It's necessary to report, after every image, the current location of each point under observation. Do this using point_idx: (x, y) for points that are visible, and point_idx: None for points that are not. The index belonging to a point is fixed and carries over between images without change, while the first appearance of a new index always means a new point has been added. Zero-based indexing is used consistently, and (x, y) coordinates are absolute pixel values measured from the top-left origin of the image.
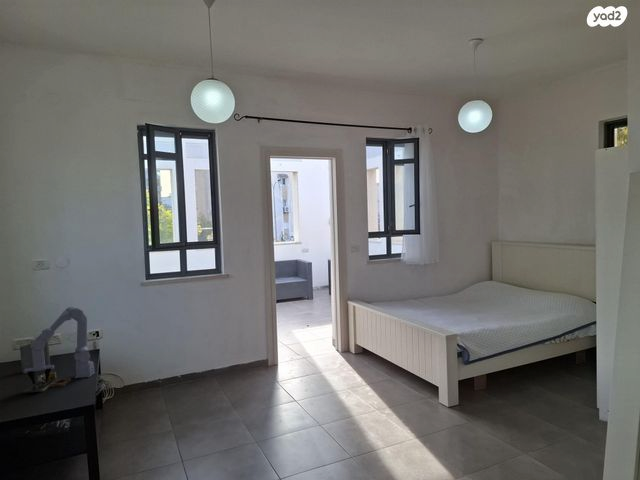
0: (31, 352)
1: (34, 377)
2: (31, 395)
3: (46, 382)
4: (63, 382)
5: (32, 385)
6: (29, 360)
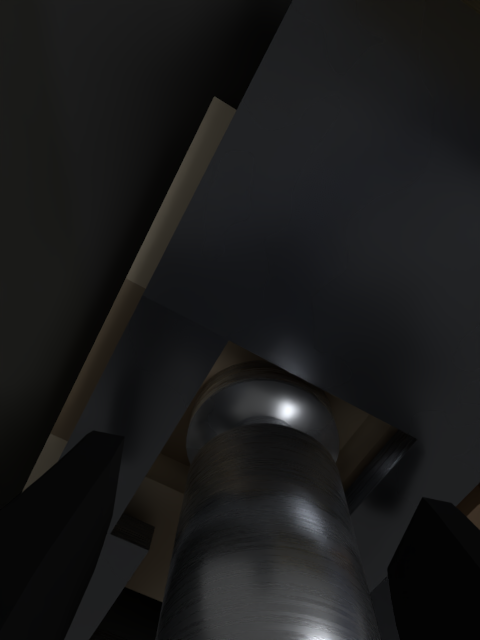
0: None
1: (29, 617)
2: (123, 621)
3: (400, 428)
4: None
5: (69, 441)
6: None
